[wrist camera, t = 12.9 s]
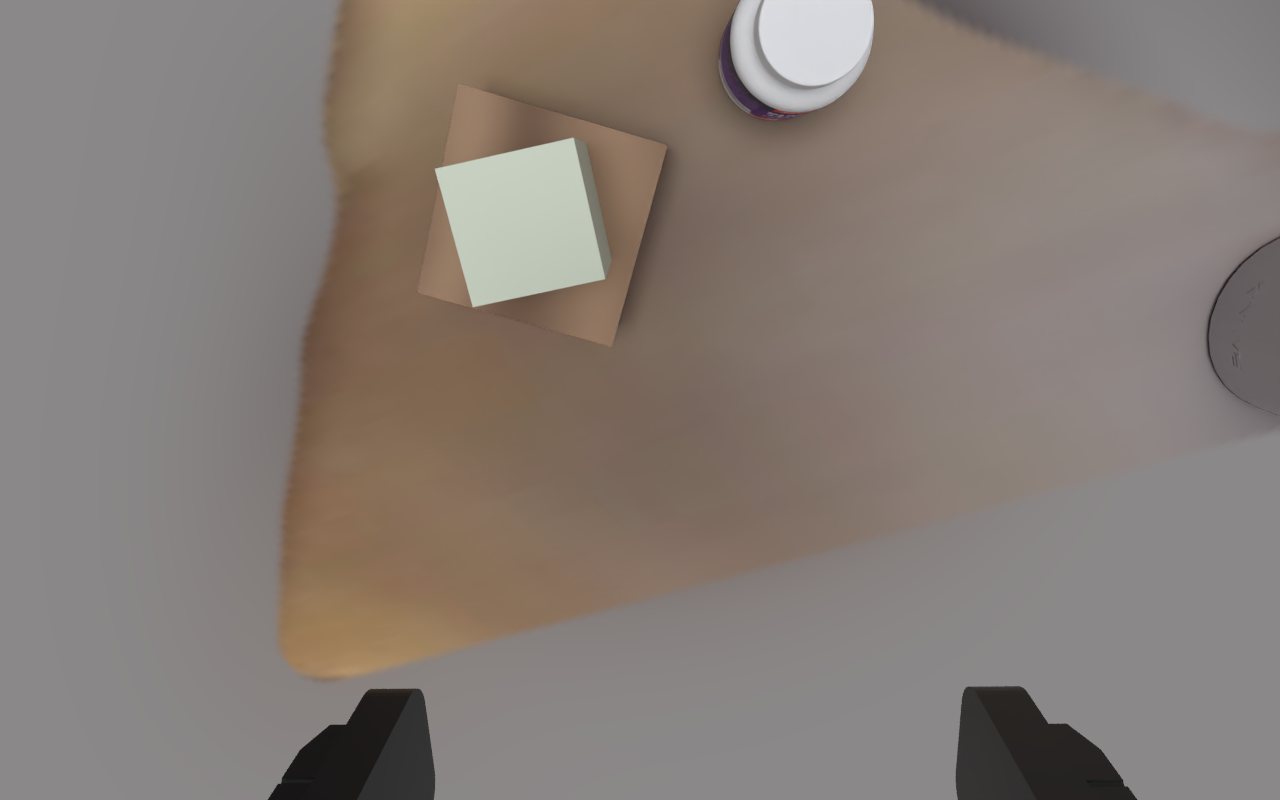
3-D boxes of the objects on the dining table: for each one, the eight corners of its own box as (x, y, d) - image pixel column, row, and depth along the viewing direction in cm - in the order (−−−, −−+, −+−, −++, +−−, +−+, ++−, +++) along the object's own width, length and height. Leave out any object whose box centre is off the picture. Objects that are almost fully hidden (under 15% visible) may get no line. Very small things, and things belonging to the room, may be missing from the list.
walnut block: (666, 147, 38) (667, 145, 33) (617, 325, 40) (611, 347, 36) (484, 93, 37) (458, 83, 33) (446, 276, 40) (416, 292, 35)
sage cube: (586, 142, 33) (573, 137, 27) (611, 260, 35) (605, 279, 29) (471, 168, 33) (434, 168, 28) (501, 284, 35) (472, 307, 29)
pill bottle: (759, 145, 37) (791, 139, 28) (694, 45, 36) (705, 4, 27) (857, 73, 36) (925, 42, 27) (794, -33, 35) (842, -102, 26)
